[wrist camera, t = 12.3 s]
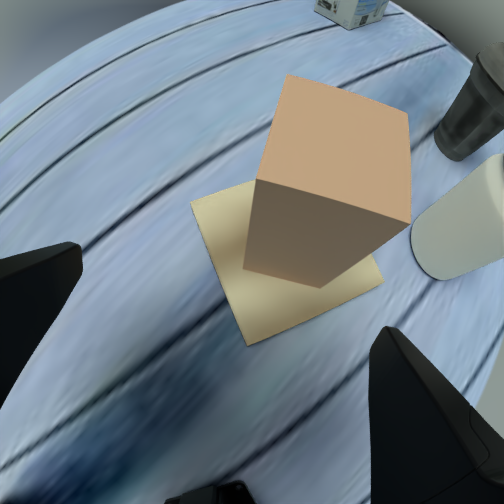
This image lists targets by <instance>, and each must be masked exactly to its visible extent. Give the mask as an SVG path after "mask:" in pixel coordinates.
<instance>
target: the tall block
mask: <svg viewBox="0 0 504 504" xmlns="http://www.w3.org/2000/svg"><path fill="white" fill-rule="evenodd" d="M410 224H411V158H410V139H409V126H408V115H407V113H405V112H403V111H400V110H398V109H395V108H393V107H390V106H388V105H385V104H382V103H380V102H377V101H374V100H372V99H369V98H366V97H363V96H360V95H358V94H355V93H352V92H349V91H346V90H342V89H339V88H336V87H333V86H329V85H326V84H323V83H319V82H316V81H312V80H308V79H305V78H301V77H297V76H293V75H289V74H287V75H286V79H285V82H284V85H283V89H282V92H281V95H280V98H279V102H278V105H277V108H276V112H275V115H274V118H273V122H272V125H271V129H270V132H269V135H268V139H267V142H266V146H265V149H264V152H263V156H262V159H261V163H260V166H259V170H258V173H257V176H256V181H255V188H254V195H253V201H252V208H251V215H250V221H249V228H248V235H247V242H246V248H245V255H244V262H243V269H244V270H248V271H252V272H256V273H260V274H264V275H268V276H272V277H276V278H280V279H283V280H287V281H291V282H295V283H299V284H303V285H307V286H311V287H315V288H319V289H320V288H322V287H323V286H325V285H326V284H328V283H329V282H330V281H332V280H333V279H335V278H336V277H338V276H339V275H341V274H342V273H344V272H345V271H347V270H348V269H349V268H351V267H352V266H354V265H355V264H357V263H358V262H359V261H361V260H362V259H364V258H365V257H367V256H368V255H369V254H371V253H372V252H374V251H375V250H376V249H378V248H379V247H380V246H382V245H383V244H385V243H386V242H387V241H389V240H390V239H391V238H393V237H394V236H395V235H397V234H398V233H399V232H401V231H402V230H404V229H405V228H406V227H407V226H409V225H410Z"/></svg>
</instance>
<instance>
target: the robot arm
mask: <svg viewBox="0 0 504 504" xmlns="http://www.w3.org/2000/svg"><path fill="white" fill-rule="evenodd" d="M82 272H83V262H82V249H81V246H80V245H79V244H76V243H73V242H64V243H60V244H56V245H52V246H48V247H44V248H40V249H36V250H32V251H29V252H25V253H21V254H17V255H14V256H10V257H7V258H3V259H0V409H1V407H2V405H3V403H4V402H5V400H6V398H7V396H8V394H9V392H10V391H11V389H12V387H13V385H14V384H15V382H16V380H17V379H18V377H19V375H20V373H21V372H22V370H23V368H24V367H25V365H26V364H27V362H28V360H29V359H30V357H31V355H32V354H33V352H34V351H35V349H36V348H37V346H38V345H39V343H40V341H41V340H42V338H43V337H44V335H45V334H46V332H47V331H48V329H49V328H50V326H51V325H52V324H53V322H54V321H55V319H56V318H57V316H58V315H59V313H60V311H61V310H62V308H63V306H64V305H65V303H66V301H67V299H68V298H69V296H70V294H71V292H72V291H73V289H74V287H75V286H76V284H77V282H78V281H79V279H80V277H81V275H82ZM368 401H369V420H370V444H371V504H504V439H503V438H502V437H501V436H500V435H499V434H498V433H497V432H496V431H495V430H494V429H493V428H492V427H491V426H490V425H489V424H488V423H487V422H486V421H485V420H484V419H483V418H482V416H481V415H480V414H479V413H478V412H477V411H476V410H475V409H474V408H473V407H472V406H471V405H470V403H469V402H468V401H467V400H466V399H465V398H464V397H463V396H462V395H461V394H460V393H459V391H458V390H457V389H456V388H455V387H454V386H453V385H452V384H451V383H450V382H449V381H448V380H447V379H446V378H445V377H444V375H443V374H442V373H441V372H440V371H439V370H438V369H437V368H436V367H435V366H434V365H433V364H432V363H431V362H430V361H429V360H428V359H427V358H426V357H425V356H424V355H423V354H422V353H421V352H420V351H419V350H418V349H417V347H416V346H415V345H414V344H413V343H412V342H411V341H410V340H409V339H408V338H407V337H406V336H405V335H404V334H403V333H402V332H401V331H400V330H399V329H397V328H394V327H389V326H385V327H383V328H382V330H381V331H380V333H379V334H378V336H377V338H376V339H375V341H374V343H373V344H372V346H371V349H370V353H369V390H368ZM237 485H241V486H242V488H239V489H238V488H236V486H237ZM164 504H257V503H256V502H255V500H254V498H253V496H252V495H251V493H250V491H249V489H248V488H247V486H246V484H245V483H244V482H243V481H240V480H238V481H234V482H231V483H228V484H225V485H221V486H218V487H216V486H210V487H206V488H202V489H199V490H195V491H191V492H187V493H183V494H182V496H180V497H176V498H171V499H167V500H166V501H165V503H164Z"/></svg>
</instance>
